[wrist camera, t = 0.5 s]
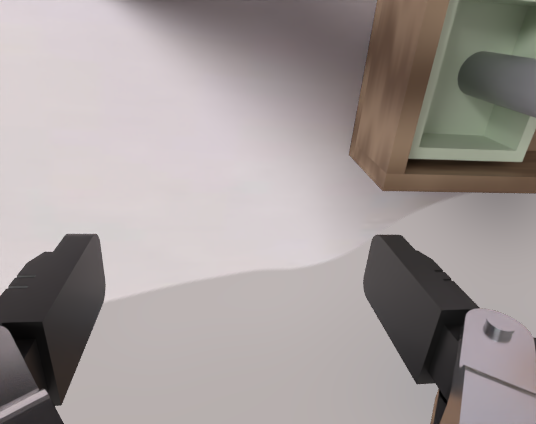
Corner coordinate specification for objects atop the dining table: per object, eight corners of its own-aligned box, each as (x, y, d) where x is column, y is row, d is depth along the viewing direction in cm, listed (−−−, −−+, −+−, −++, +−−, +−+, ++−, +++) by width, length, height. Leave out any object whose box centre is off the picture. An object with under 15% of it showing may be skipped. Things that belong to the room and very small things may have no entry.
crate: (413, -19, 24) (542, -38, 15) (535, -7, 25) (724, -16, 16) (379, 138, 29) (459, 201, 20) (482, 142, 30) (605, 202, 21)
